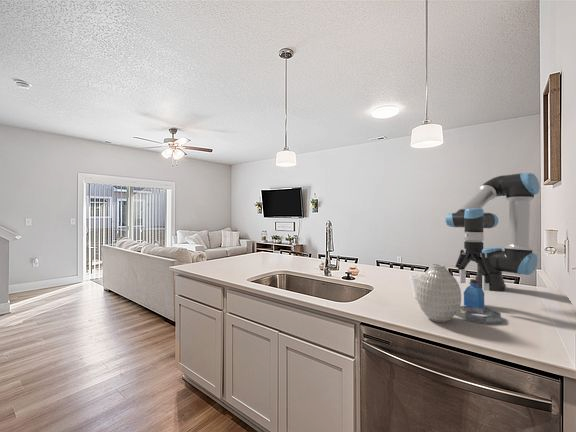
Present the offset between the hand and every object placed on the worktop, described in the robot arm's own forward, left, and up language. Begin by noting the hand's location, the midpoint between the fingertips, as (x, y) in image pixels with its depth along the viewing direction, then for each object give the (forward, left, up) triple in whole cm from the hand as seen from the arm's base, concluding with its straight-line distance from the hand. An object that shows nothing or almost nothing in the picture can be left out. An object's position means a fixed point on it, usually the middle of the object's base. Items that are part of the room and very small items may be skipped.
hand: (473, 286), depth 131 cm
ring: (+10, +13, -9) cm, 18 cm away
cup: (+18, -14, -9) cm, 24 cm away
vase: (+28, +13, -9) cm, 32 cm away
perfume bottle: (0, 0, -9) cm, 9 cm away
